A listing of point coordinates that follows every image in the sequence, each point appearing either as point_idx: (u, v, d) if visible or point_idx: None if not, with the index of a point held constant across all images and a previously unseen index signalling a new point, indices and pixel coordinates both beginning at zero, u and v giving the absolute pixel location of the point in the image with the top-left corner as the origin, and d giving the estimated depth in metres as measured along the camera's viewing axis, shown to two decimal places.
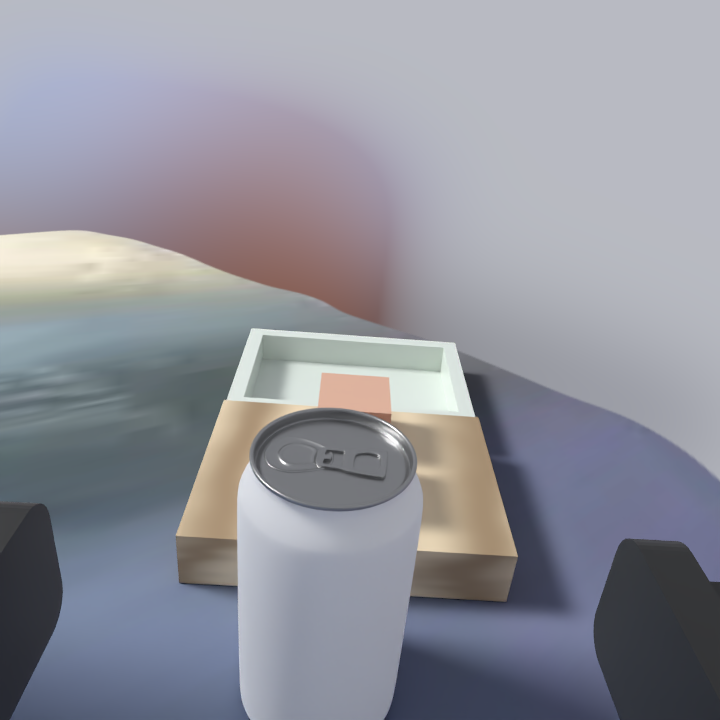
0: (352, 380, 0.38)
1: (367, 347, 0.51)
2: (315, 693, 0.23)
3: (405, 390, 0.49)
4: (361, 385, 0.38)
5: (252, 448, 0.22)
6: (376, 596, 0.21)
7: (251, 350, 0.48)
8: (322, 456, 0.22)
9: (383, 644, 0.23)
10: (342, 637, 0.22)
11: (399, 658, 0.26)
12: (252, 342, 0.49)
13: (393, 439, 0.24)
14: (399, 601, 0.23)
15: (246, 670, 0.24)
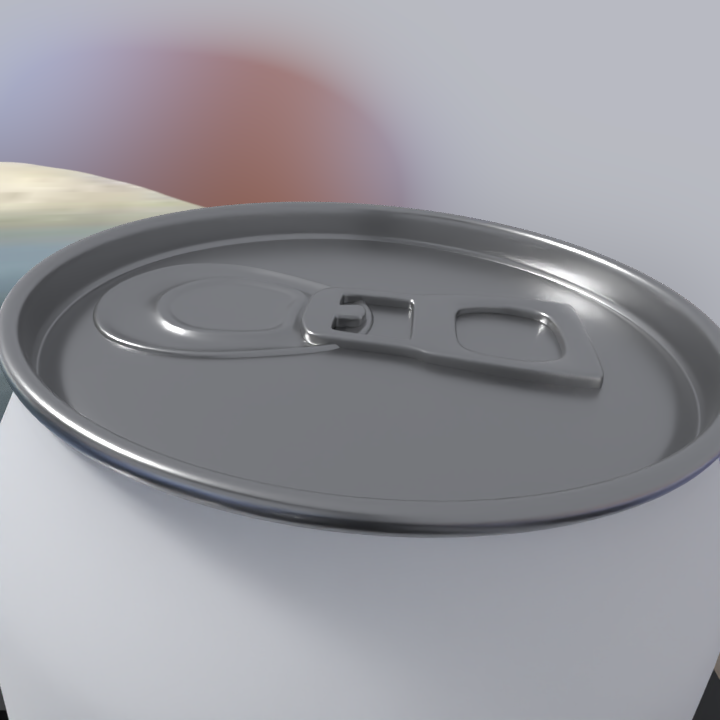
0: None
1: None
2: None
3: None
4: None
5: (40, 268, 0.05)
6: None
7: None
8: (328, 309, 0.06)
9: None
10: None
11: None
12: None
13: (568, 284, 0.07)
14: None
15: None
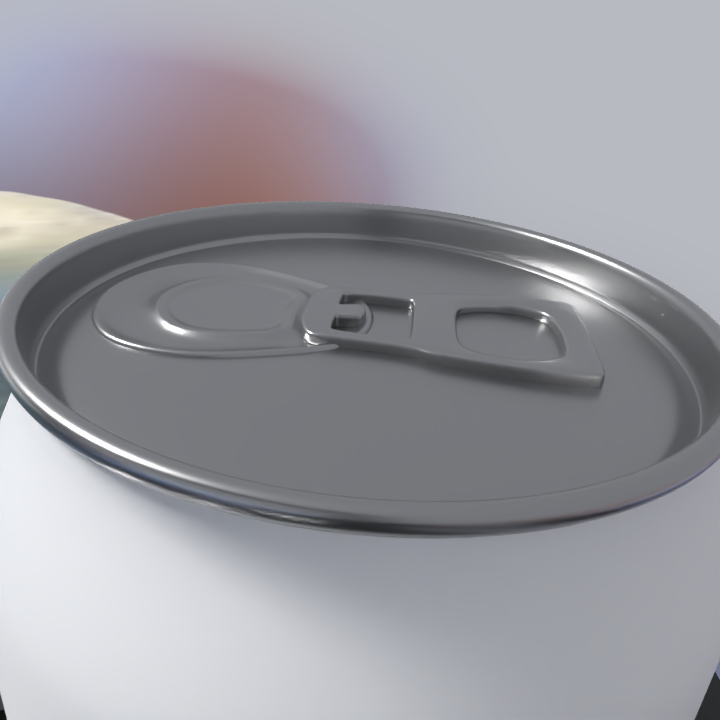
0: None
1: None
2: None
3: None
4: None
5: (38, 267, 0.05)
6: None
7: None
8: (328, 309, 0.06)
9: None
10: None
11: None
12: None
13: (568, 283, 0.07)
14: None
15: None
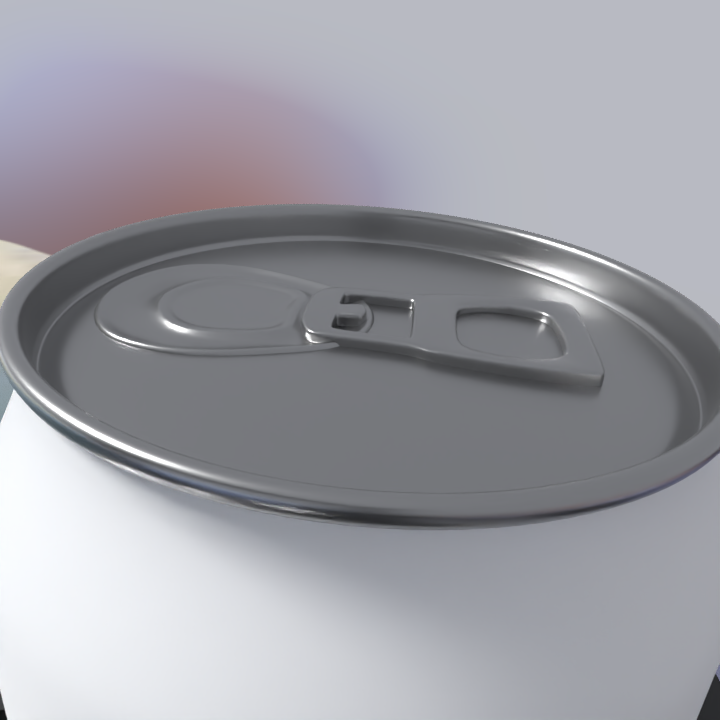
0: None
1: None
2: None
3: None
4: None
5: (42, 266, 0.05)
6: None
7: None
8: (329, 309, 0.06)
9: None
10: None
11: None
12: None
13: (569, 286, 0.07)
14: None
15: None
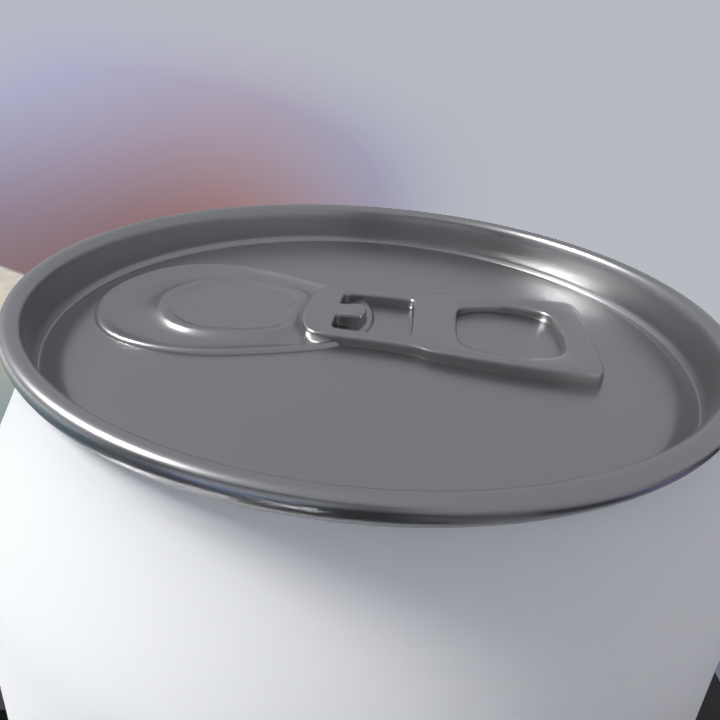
0: None
1: None
2: None
3: None
4: None
5: (43, 266, 0.05)
6: None
7: None
8: (329, 308, 0.06)
9: None
10: None
11: None
12: None
13: (570, 286, 0.07)
14: None
15: None
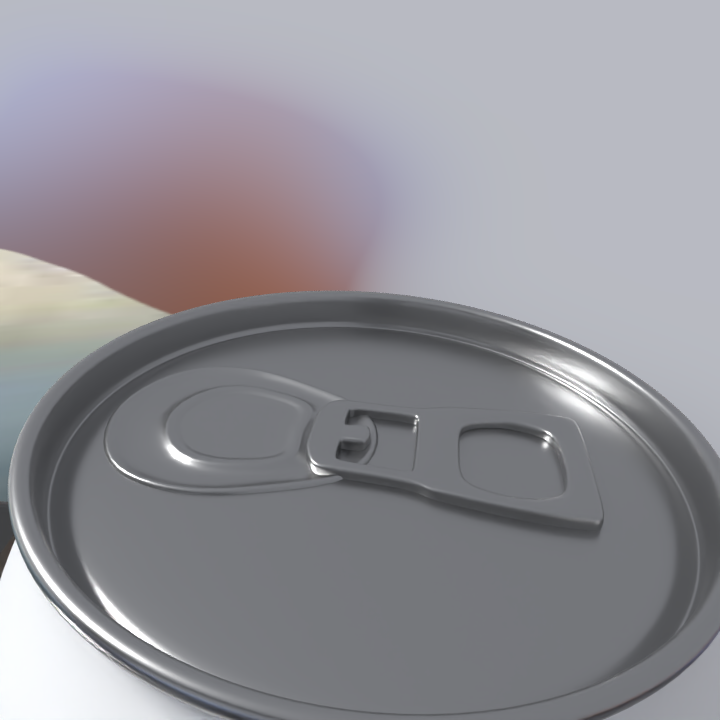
0: None
1: None
2: None
3: None
4: None
5: (53, 393, 0.05)
6: None
7: None
8: (333, 431, 0.06)
9: None
10: None
11: None
12: None
13: (574, 385, 0.07)
14: None
15: None
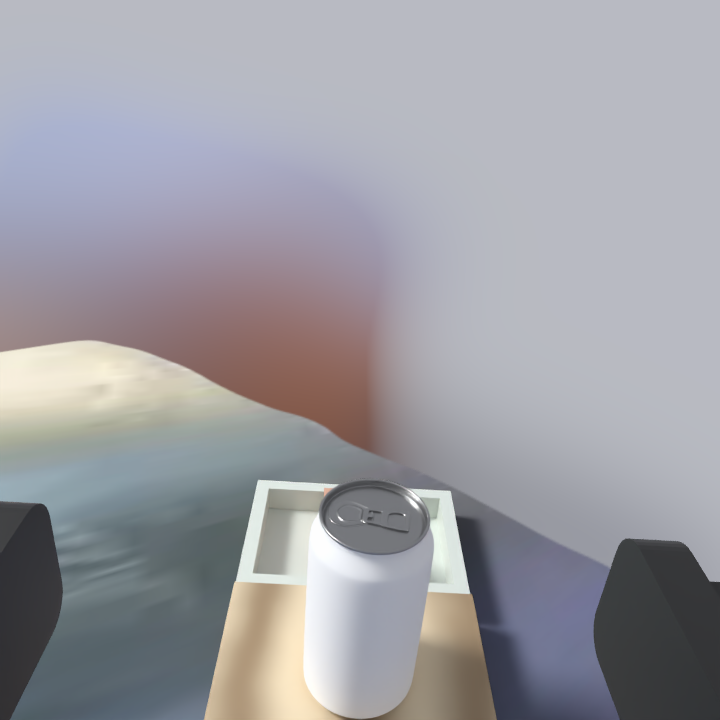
0: None
1: None
2: (359, 675, 0.34)
3: None
4: None
5: (320, 509, 0.33)
6: (401, 610, 0.32)
7: (258, 510, 0.51)
8: (366, 515, 0.33)
9: (406, 642, 0.34)
10: (378, 637, 0.33)
11: (416, 653, 0.36)
12: (259, 499, 0.52)
13: (414, 502, 0.35)
14: (417, 614, 0.33)
15: (310, 659, 0.35)
